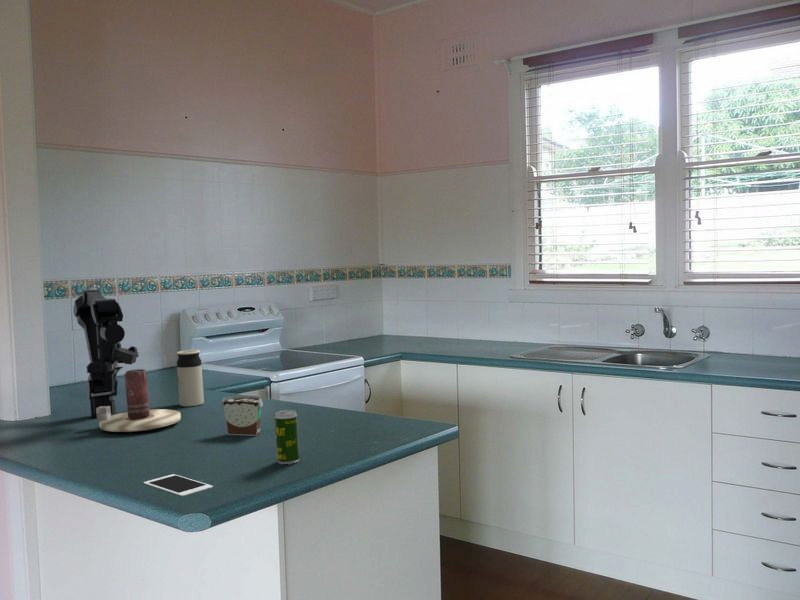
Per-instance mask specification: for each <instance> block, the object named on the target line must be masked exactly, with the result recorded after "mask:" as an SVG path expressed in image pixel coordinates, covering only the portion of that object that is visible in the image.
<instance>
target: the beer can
mask: <svg viewBox="0 0 800 600" xmlns="http://www.w3.org/2000/svg"><path fill="white" fill-rule="evenodd" d="M274 413H275V414H274V432H275V434H274V435H275V447H276V451H275V452H276V461H277V463H278V464H279V465H283V464H288V465H294V464H296V462H297V463H298V462H299V461H300V441H299V425H298V424H299V423H298V414H297V411H296V410H294V409H293V410H292V409H284V410H278V411H276V412H274ZM293 463H294V464H293Z"/></svg>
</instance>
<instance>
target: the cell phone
mask: <svg viewBox="0 0 800 600" xmlns="http://www.w3.org/2000/svg"><path fill="white" fill-rule="evenodd" d="M143 484H144V485H146V486H149V487H153V488H156V489H158V490H162V491H164V492H168V493H171V494H172V495H173V494H174V495H177V496H180V497H184V496H188V495H191V494H195V493H198V492H201V491H204V490H205V491H206V490H208V489H212V488H214V485H211V484H208V483H205V482H201V481H198V480H195V479H191V478H188V477H185V476H182V475H178V474H175V473H172V474H169V475H165V476H162V477H158V478H153V479H150V480H146V481H143Z"/></svg>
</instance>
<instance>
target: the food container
mask: <svg viewBox="0 0 800 600" xmlns="http://www.w3.org/2000/svg"><path fill="white" fill-rule="evenodd" d="M220 402H221V403H220V406H221V407H223V415H224V421H225V426H226V432H227V433H226V434H227V436H249V437H250V436H251V437H254V436H255V437H258V436H259V435H260V434H261V409H262V407H263V406H264V403H263V400H262V397H261V396H257V395H236V396H228V397H224V398H222V401H220Z"/></svg>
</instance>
